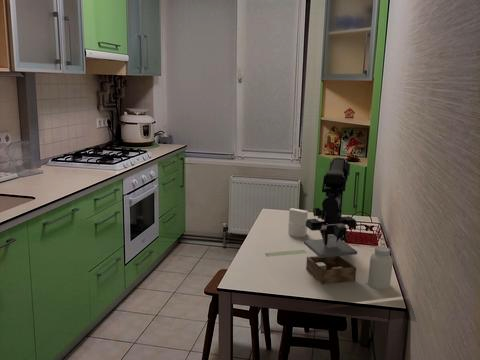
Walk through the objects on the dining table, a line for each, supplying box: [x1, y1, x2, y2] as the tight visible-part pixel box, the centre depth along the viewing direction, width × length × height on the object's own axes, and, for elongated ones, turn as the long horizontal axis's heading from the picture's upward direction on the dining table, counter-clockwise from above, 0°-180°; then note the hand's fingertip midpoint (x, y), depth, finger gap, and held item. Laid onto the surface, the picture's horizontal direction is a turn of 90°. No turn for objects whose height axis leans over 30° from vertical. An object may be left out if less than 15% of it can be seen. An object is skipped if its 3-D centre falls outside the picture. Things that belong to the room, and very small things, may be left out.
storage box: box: [305, 255, 357, 285], centre depth 181 cm, size 14×14×6 cm
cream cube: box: [316, 262, 326, 270], centre depth 183 cm, size 4×4×4 cm
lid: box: [303, 234, 358, 258], centre depth 179 cm, size 15×15×5 cm
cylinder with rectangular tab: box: [287, 207, 309, 238], centre depth 229 cm, size 9×9×12 cm
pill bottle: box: [367, 245, 394, 290], centre depth 172 cm, size 8×8×15 cm
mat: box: [264, 249, 308, 258], centre depth 197 cm, size 18×18×1 cm
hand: (329, 244), depth 179 cm, fingers closed on lid, 3 cm apart
